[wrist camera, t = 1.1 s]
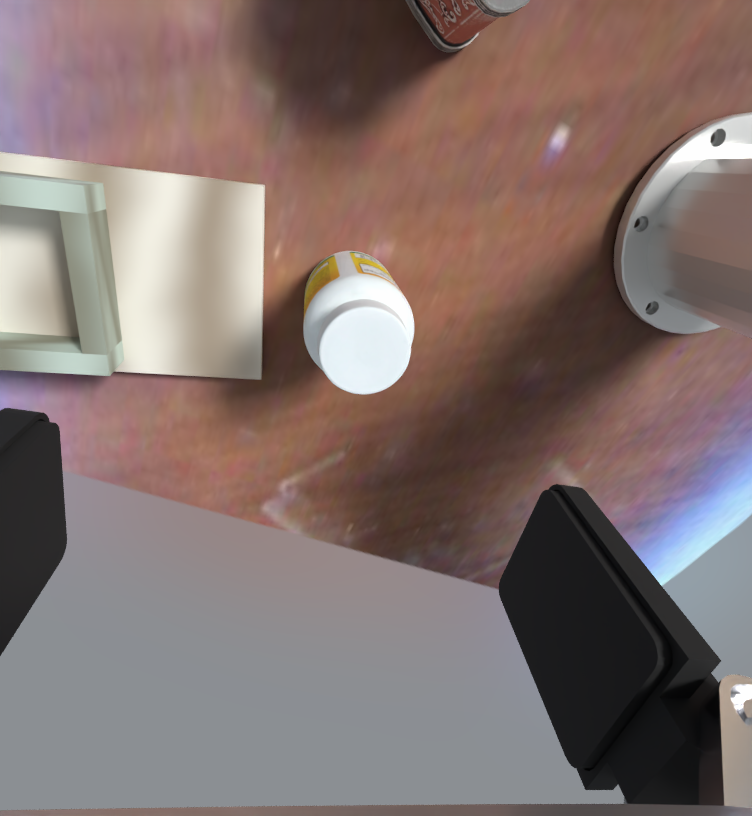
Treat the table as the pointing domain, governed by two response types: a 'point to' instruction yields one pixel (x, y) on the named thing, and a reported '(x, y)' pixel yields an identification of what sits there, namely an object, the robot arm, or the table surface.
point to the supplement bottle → (357, 323)
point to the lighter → (459, 19)
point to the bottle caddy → (129, 270)
